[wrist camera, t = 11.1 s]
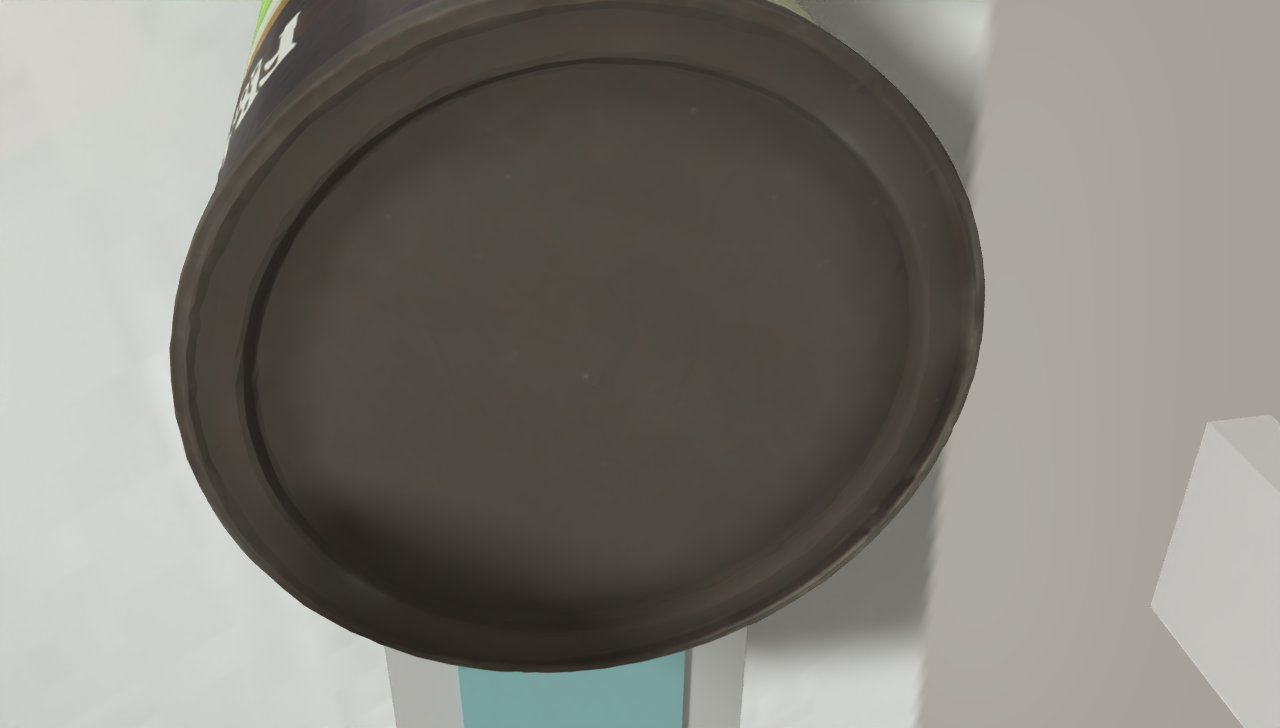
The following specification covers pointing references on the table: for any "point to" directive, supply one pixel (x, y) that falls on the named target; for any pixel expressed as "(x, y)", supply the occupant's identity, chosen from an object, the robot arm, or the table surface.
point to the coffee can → (568, 320)
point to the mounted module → (576, 692)
